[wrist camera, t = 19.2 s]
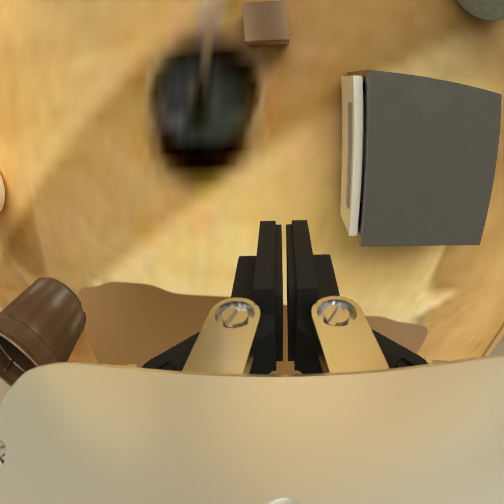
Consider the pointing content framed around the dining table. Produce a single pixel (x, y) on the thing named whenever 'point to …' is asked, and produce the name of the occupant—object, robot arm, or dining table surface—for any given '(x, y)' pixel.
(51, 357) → the plant pot
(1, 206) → the cup
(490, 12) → the grey green tumbler
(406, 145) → the housing
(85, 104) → the dining table surface
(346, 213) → the white drawer
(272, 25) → the walnut block
